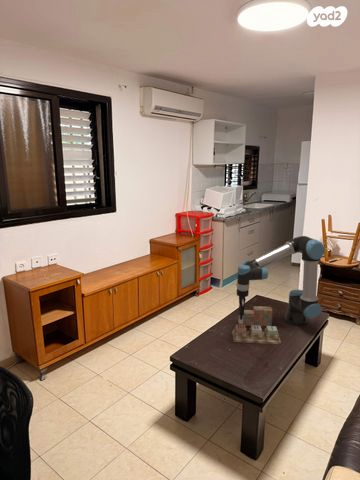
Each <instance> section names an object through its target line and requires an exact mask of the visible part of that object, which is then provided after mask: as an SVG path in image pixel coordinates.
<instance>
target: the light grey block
mask: <svg viewBox="0 0 360 480" xmlns="http://www.w3.org/2000/svg"><path fill="white" fill-rule="evenodd" d="M277 328H278V327H277V326H276V325H275V326H274V325H273V326H272V325H271V326H266V328H265V329H266V331H267V335H277V332H278V333H279V331H278V329H277Z"/></svg>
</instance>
